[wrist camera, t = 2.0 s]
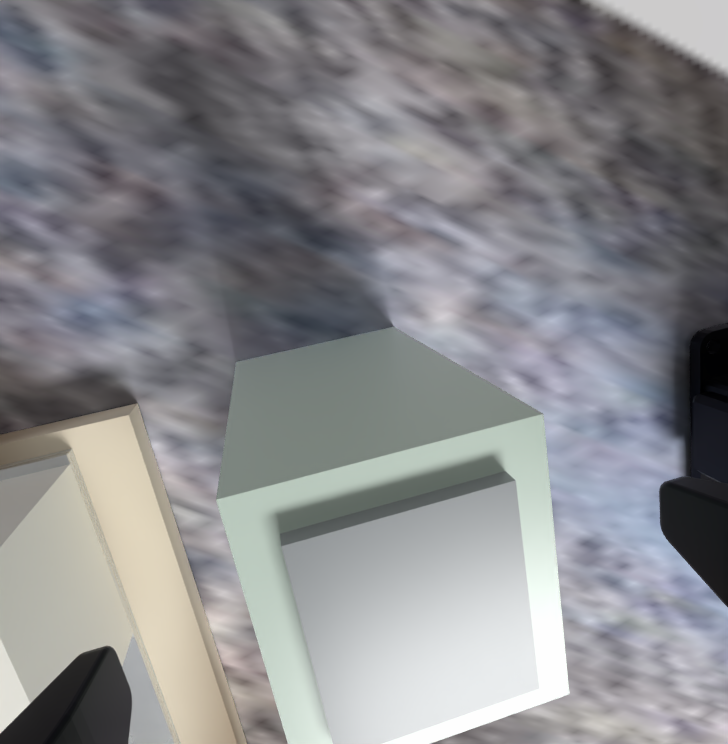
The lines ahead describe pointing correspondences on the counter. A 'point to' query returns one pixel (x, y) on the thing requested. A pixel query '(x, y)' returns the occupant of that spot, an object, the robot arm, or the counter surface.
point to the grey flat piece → (149, 710)
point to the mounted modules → (50, 587)
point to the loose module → (391, 541)
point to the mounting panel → (145, 562)
